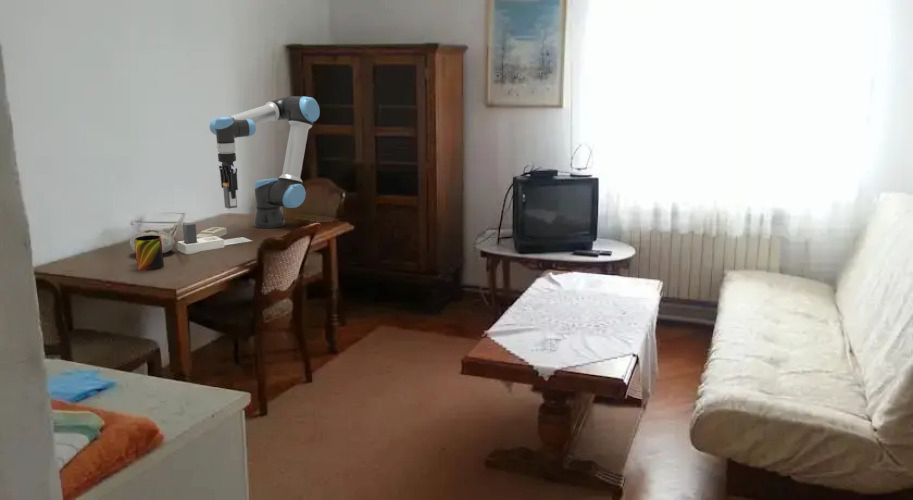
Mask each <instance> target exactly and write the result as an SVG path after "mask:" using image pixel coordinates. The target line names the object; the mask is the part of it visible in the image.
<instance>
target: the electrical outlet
mask: <svg viewBox="0 0 913 500" xmlns="http://www.w3.org/2000/svg"><path fill="white" fill-rule="evenodd" d="M226 235H228V230H227V227H219V226H218V227H217V226H213V227H210V228H207V229H203V230H201V231H200V233H198V234H197V233H196V236H197V239H199V238H205V237H212V236H216V237H219V238H222V237H224V236H226Z"/></svg>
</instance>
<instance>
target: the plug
mask: <svg viewBox="0 0 913 500" xmlns="http://www.w3.org/2000/svg"><path fill="white" fill-rule="evenodd" d="M222 189H223V199H224V201H223V202H224V208H225V209H235V208H236V209H237V208H238V201H237V199H238V197H236V206H230V199H229V190H230V189H229V183H228V182H227V183H223V188H222ZM235 193H236V194H237V190H236V191H235Z"/></svg>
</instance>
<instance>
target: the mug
mask: <svg viewBox="0 0 913 500" xmlns="http://www.w3.org/2000/svg"><path fill="white" fill-rule="evenodd" d="M134 241H135V251H136V252H135V251H134V252H135V259H136V262H137V263H136V264H137V270H139V271H147V272H148V271H156V270H160V269H163V268H164V265H165V263H164V253H163V252H162V241H161V236H157V235H148V236H141V237H137V238H135V240H134Z"/></svg>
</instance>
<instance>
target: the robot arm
mask: <svg viewBox="0 0 913 500" xmlns="http://www.w3.org/2000/svg"><path fill="white" fill-rule="evenodd" d="M320 112H321V111H320V106H319V104H318V102H317V100H316V99H315V98H314V97H311V96H310V97H309V96H295V95H294V96H292V95H287V96H283V97H279V98H277V99H274V100H271V101H268V102H266V103H265V104H264V105H261V106H258V107H255V108H252V109H249V110H245V111H241V112H238V113H235V114H232V115H228V116H217V117H216V118H213V119H211V120H210V122H209V130H210V132H211V133H212V134H213V135H215V136H216V146H215V147H216V149H217V153H218V154H217V159H218V162H219V163H221V165H218V169H219V175H220V177H219V178H220V185H221V188H222V189H223V183H227V182H228V183H229V189H230V190H229V199H230V206H236V198H237V191H238V190H239V188H238V186H239V185H238V168H237V167H235V165H234V162H236V161H237V153H236V141H235V139H237V138H244V137H247V138H248V137H251V136H254V135H255V133H256V131H257V125H261V124H264V123H266V122H269V121H272V122H276V121H287V122H288V123H289V125H290V127H289V134H288V140H287V145H286V151H285V156H284V161H283V167H282V174H281V175H280V176H279V177H278V178H277V177H274V178H265V179H259V180H256V181H255V182H254V196H255V197H254V198H255V207H256V210H255V215H254V218H253V226H254V228H259V229H273V228H274V229H275V228H279V227H283V226H285V225H286V221H285V220H286V219H285V217H284V215H283V214H284V213H283V212H282V209H281V207H283V208H284V207H285V208H288V209H289V208H290V209H291V208H292V209H294V208H298V207H300V206H301V205H302V204H303V203H304V201H305V200H306V196H307V195H306V194H307V193H306V189H305V187H304V186H303V180H302V179H301V175H302V170H303V163H304V157H305V151H306V146H307V145H306V144H307V142H308V141H307V140H308V135H309V130H310V129H311V128H312V127H313V124H314V122H317V120H318V119H319V117H320ZM235 191H236V193H235Z"/></svg>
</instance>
